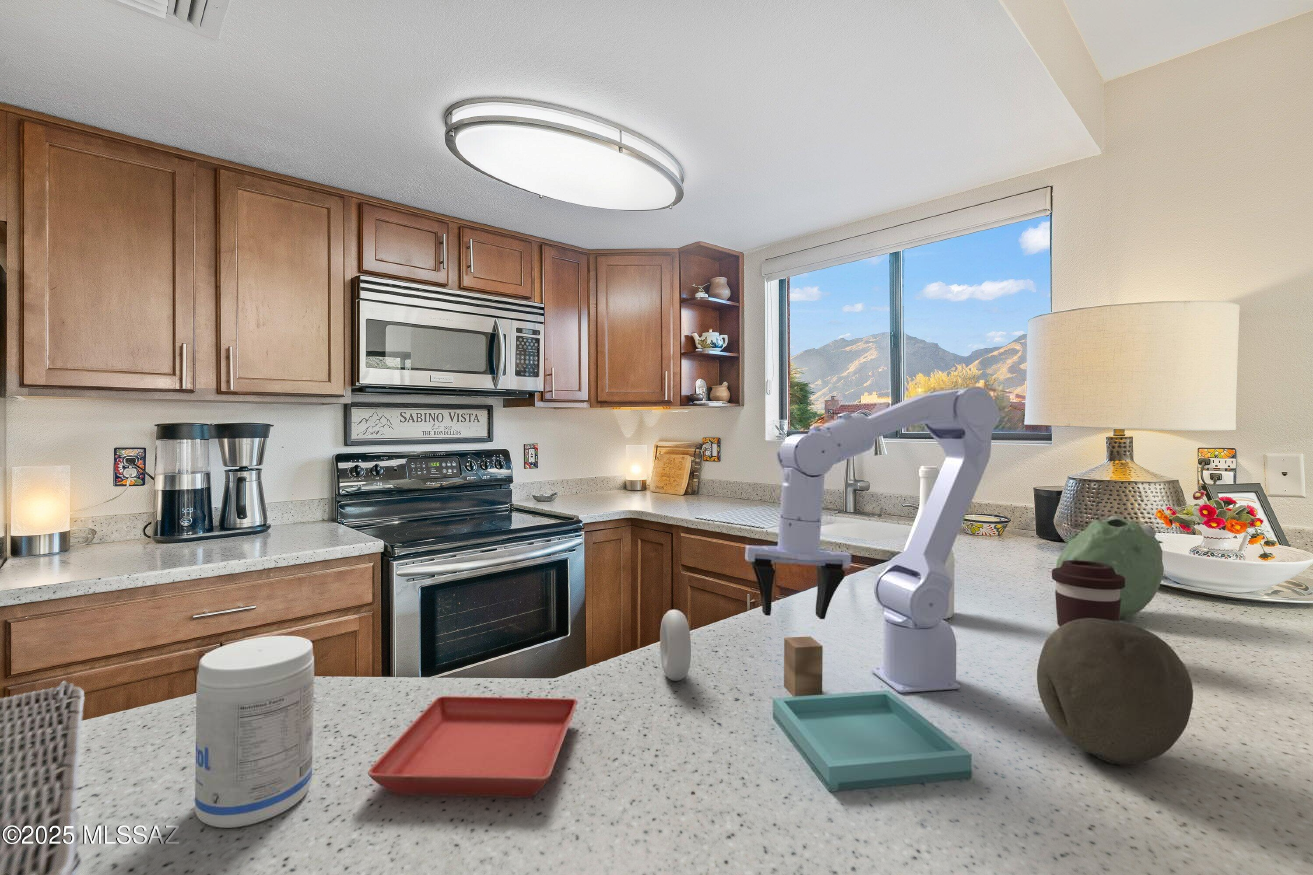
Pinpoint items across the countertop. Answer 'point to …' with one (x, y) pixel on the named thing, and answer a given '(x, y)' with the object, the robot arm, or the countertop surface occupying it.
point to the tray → (869, 740)
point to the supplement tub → (253, 729)
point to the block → (803, 666)
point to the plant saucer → (477, 747)
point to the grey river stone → (1114, 689)
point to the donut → (675, 645)
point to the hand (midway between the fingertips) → (793, 615)
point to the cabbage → (1122, 557)
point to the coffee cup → (1087, 591)
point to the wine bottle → (926, 486)
